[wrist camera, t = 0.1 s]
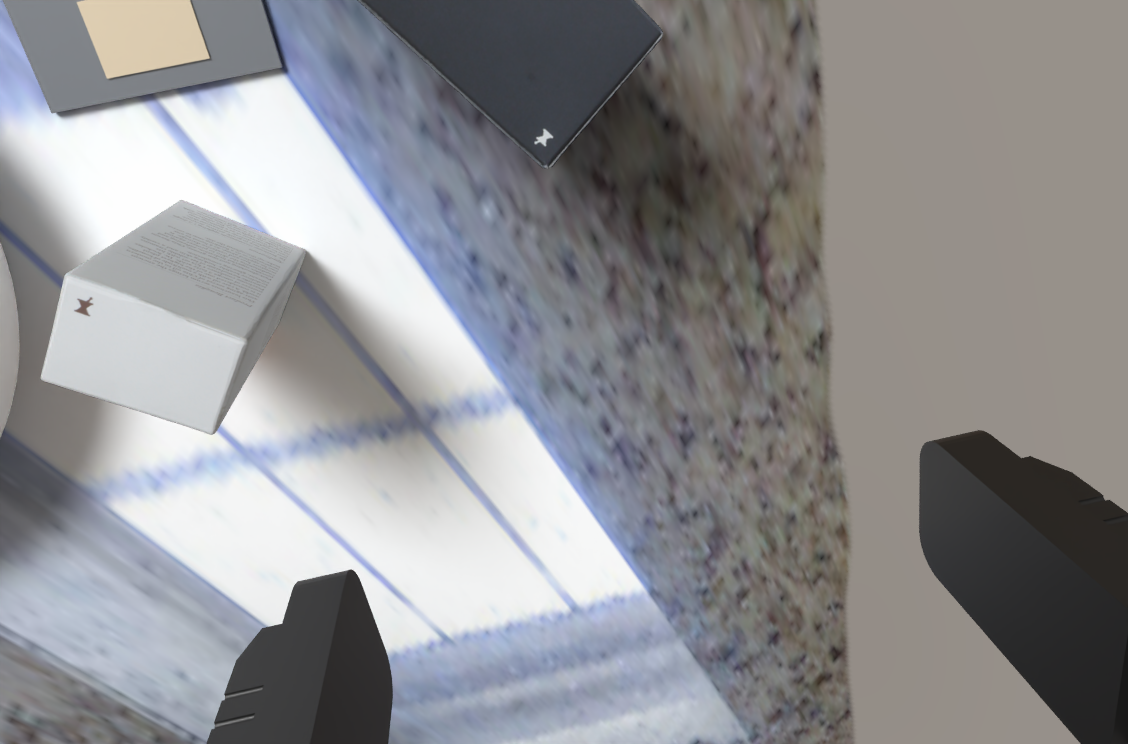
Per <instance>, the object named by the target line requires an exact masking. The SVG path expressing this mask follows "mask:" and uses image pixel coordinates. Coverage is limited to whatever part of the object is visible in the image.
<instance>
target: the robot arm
mask: <svg viewBox="0 0 1128 744" xmlns="http://www.w3.org/2000/svg"><path fill="white" fill-rule="evenodd" d="M919 507H920V508H919V513H920V514H919V533H920V541H921V546H922V549H923V552H924V555H925V558H926V560H927V562H928V565H929V566H930V568H931V570H932V572H933V573H934V575H935V576H936V577H937V578H938V580H939V581H940V582H941V583H942V584H943V585H944V587H945V588H946V589H947V590H948V591H949V592H950V593H951V595H952V596H953V597H954V598H955V599H956V600H957V602H958V603H959V604H960V605H961V606H962V607H963V608H964V610H965V611H966V612H967V613H968V614H969V615H970V617H972V619H973V620H974V621H975V622H976V623H977V625H978V626H979V627H980V628H981V629H982V630H983V632H984V633H985V634H986V635H987V636H988V637H989V638H990V640H991V641H992V642H993V643H994V644H995V645H996V646H997V648H998V649H999V650H1000V651H1001V652H1002V653H1003V655H1004V656H1005V657H1006V658H1007V659H1008V660H1009V662H1010V663H1011V664H1012V665H1013V666H1014V667H1015V668H1016V670H1017V671H1018V672H1019V673H1020V674H1021V675H1022V676H1023V678H1024V679H1025V680H1026V681H1027V682H1028V683H1029V685H1031V687H1032V688H1033V689H1034V690H1035V691H1036V692H1037V694H1038V695H1039V696H1040V697H1041V698H1042V699H1043V701H1044V702H1045V703H1046V704H1047V705H1048V706H1049V708H1050V709H1051V710H1052V711H1053V712H1054V713H1055V715H1056V716H1057V717H1058V718H1059V719H1060V720H1061V721H1062V723H1063V724H1064V725H1065V726H1066V727H1067V728H1068V729H1069V731H1070V732H1071V733H1072V734H1073V735H1074V736H1075V738H1076V739H1077V740H1078V741H1079V742H1080V743H1081V744H1128V513H1127V512H1126V511H1124V510H1123V509H1121V508H1120V507H1119V506H1117V505H1116V504H1115V503H1113V502H1112V501H1110V500H1106V501H1105V500H1104V498H1103V495H1102V494H1101V493H1099V492H1098V491H1097V490H1095V489H1094V488H1092V487H1091V486H1090V485H1088V484H1087V483H1086V482H1084V481H1083V480H1081V479H1080V478H1079V477H1077V476H1076V475H1074V474H1073V473H1072V472H1069V471H1067V470H1064V469H1061V468H1059V467H1056V466H1054V465H1051V464H1049V463H1046V462H1043V461H1041V460H1039V459H1036V458H1033V457H1031V456H1029V457H1025V458H1020V457H1019V456H1018V455H1016V454H1015V453H1014V452H1012V451H1011V450H1010V449H1009V448H1007V447H1006V446H1005V445H1003V444H1002V443H1001V442H999V441H998V440H997V439H995V438H994V437H993V436H992V435H990V434H989V433H987V432H985V431H980V430H978V431H974V432H969V433H965V434H960V435H956V436H951V437H947V438H942V439H939V440H934V441H929V442H926V443H925V444H924V445H923V447H922V449H921V453H920V506H919ZM392 699H393V688H392V677H391V670H390V664H389V660H388V656H387V653H386V650H385V647H384V644H383V642H382V639H381V636H380V633H379V631H378V628H377V625H376V623H375V620H374V617H373V614H372V612H371V609H370V606H369V603H368V601H367V598H366V595H365V592H364V590H363V587H362V584H361V582H360V579H359V577H358V575H357V574H356V572H355V571H353V570H347V571H343V572H338V573H334V574H330V575H325V576H321V577H316V578H312V579H307V580H303V581H298V582H297V583H296V584H295V585H294V587H293V590H292V593H291V597H290V600H289V603H288V606H287V610H286V613H285V616H284V620H283V623H282V624H279V625H275V626H270V627H266V628H262V629H261V631H260V632H259V633H258V634H257V636H256V637H255V638H254V639H253V641H252V642H251V643H250V644H249V646H248V647H247V648H246V649H245V650H244V652H243V653H242V654H241V655H240V657H239V658H238V659H237V660H236V663H235V666H234V669H233V672H232V674H231V677H230V680H229V683H228V685H227V688H226V691H225V700H223V701H222V702H221V705H220V708H219V711H218V713H217V716H216V719H215V722H214V723H215V729H212V730H211V733H210V736H209V738H208V741H207V744H388V739H389V729H390V720H391V710H392Z"/></svg>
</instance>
